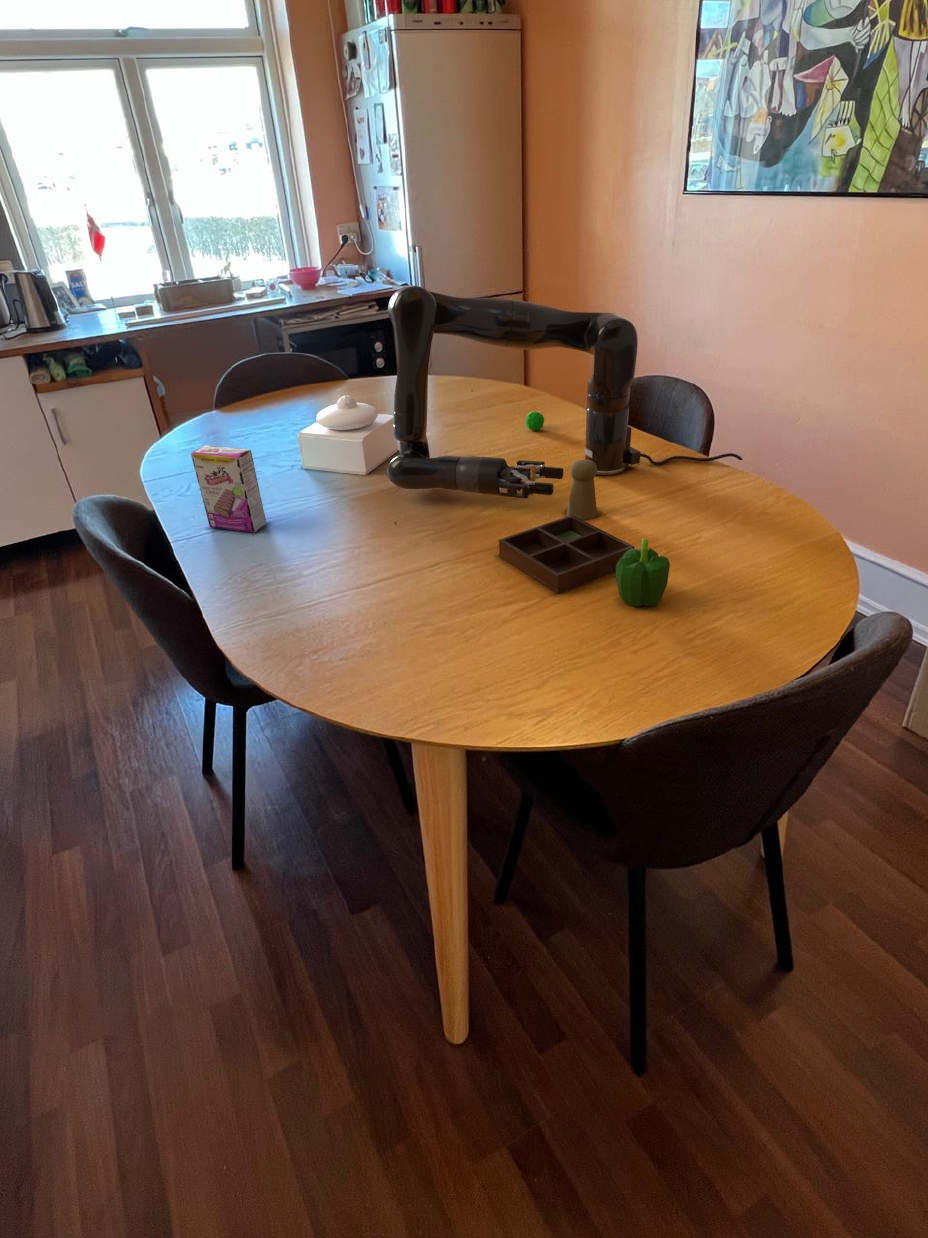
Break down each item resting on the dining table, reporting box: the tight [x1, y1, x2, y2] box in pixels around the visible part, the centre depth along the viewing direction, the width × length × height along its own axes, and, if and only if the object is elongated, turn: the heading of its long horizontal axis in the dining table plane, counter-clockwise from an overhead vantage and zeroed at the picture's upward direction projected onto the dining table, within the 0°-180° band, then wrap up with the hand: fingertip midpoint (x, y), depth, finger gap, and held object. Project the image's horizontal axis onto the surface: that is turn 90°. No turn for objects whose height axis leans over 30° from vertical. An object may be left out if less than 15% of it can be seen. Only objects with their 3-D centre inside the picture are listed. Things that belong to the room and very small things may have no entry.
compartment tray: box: [498, 515, 635, 595], centre depth 133 cm, size 17×17×4 cm
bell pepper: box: [615, 538, 671, 608], centre depth 119 cm, size 8×8×10 cm
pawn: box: [566, 459, 598, 521], centre depth 148 cm, size 6×6×11 cm
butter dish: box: [296, 394, 399, 476], centre depth 181 cm, size 18×18×16 cm
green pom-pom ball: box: [524, 410, 545, 432], centre depth 196 cm, size 5×5×5 cm
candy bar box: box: [190, 445, 267, 534], centre depth 150 cm, size 11×5×16 cm, turn 71°
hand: (558, 481), depth 149 cm, fingers open, 8 cm apart
